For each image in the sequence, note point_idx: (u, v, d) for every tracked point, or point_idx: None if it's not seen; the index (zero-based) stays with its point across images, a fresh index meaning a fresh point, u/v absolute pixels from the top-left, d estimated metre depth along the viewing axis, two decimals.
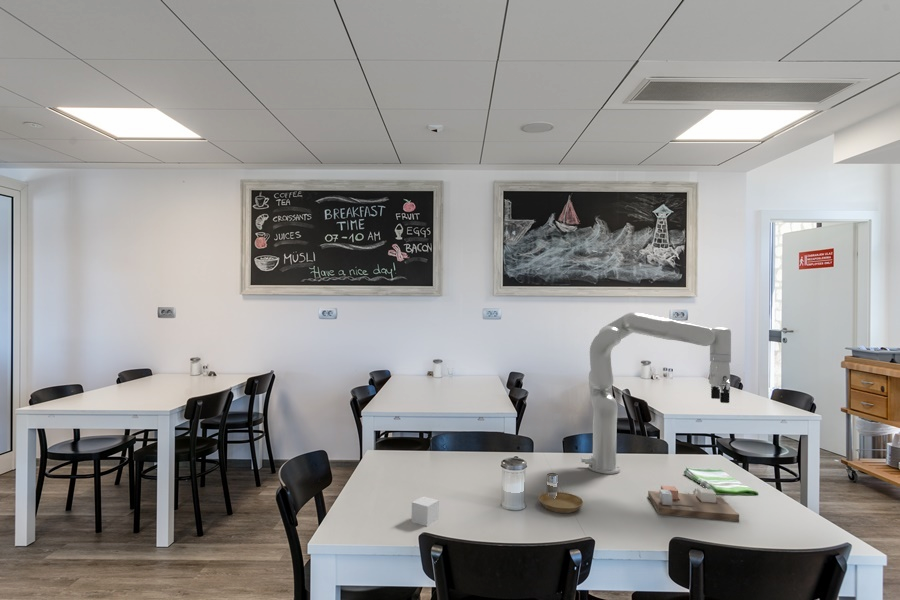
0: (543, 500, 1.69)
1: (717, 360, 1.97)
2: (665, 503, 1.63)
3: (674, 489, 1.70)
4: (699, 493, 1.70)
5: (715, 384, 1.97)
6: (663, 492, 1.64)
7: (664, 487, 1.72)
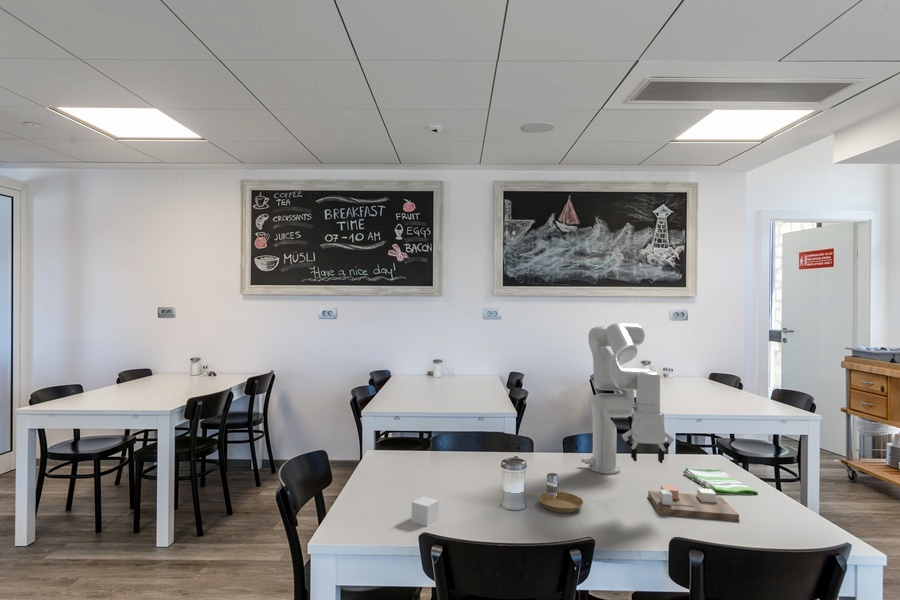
0: (543, 500, 1.69)
1: (659, 412, 1.64)
2: (665, 503, 1.63)
3: (674, 489, 1.70)
4: (699, 493, 1.70)
5: (658, 441, 1.63)
6: (663, 492, 1.64)
7: (664, 487, 1.72)
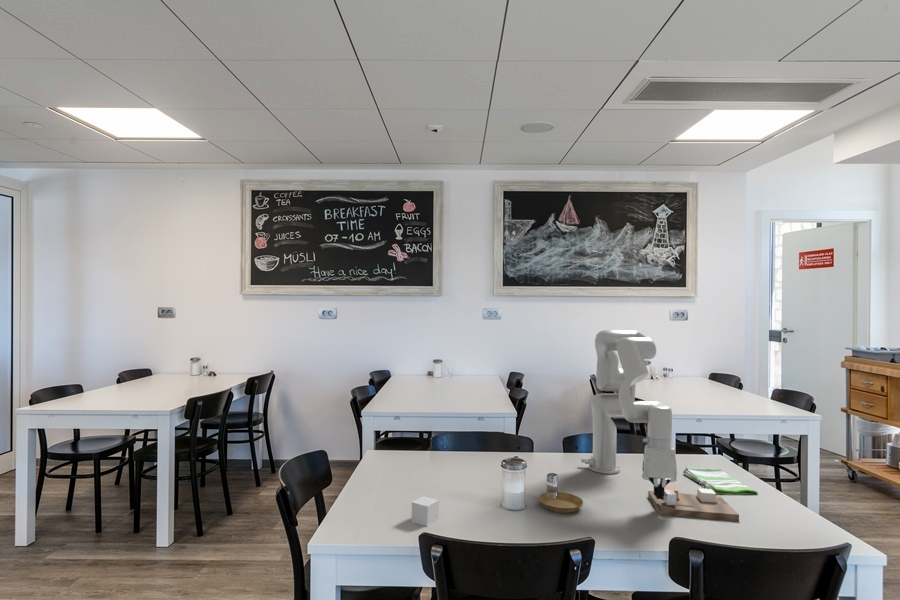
0: (543, 500, 1.69)
1: (670, 447, 1.63)
2: (669, 503, 1.63)
3: (674, 489, 1.70)
4: (699, 493, 1.70)
5: (670, 477, 1.62)
6: (667, 492, 1.64)
7: (664, 487, 1.72)
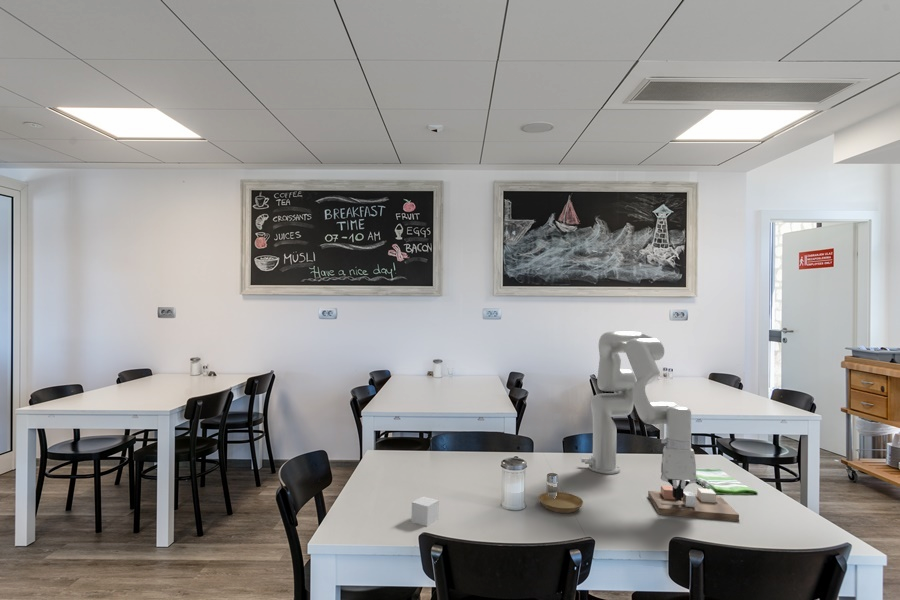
0: (543, 500, 1.69)
1: (690, 448, 1.62)
2: (688, 505, 1.61)
3: None
4: (699, 493, 1.70)
5: (690, 478, 1.61)
6: (686, 493, 1.63)
7: (664, 487, 1.72)
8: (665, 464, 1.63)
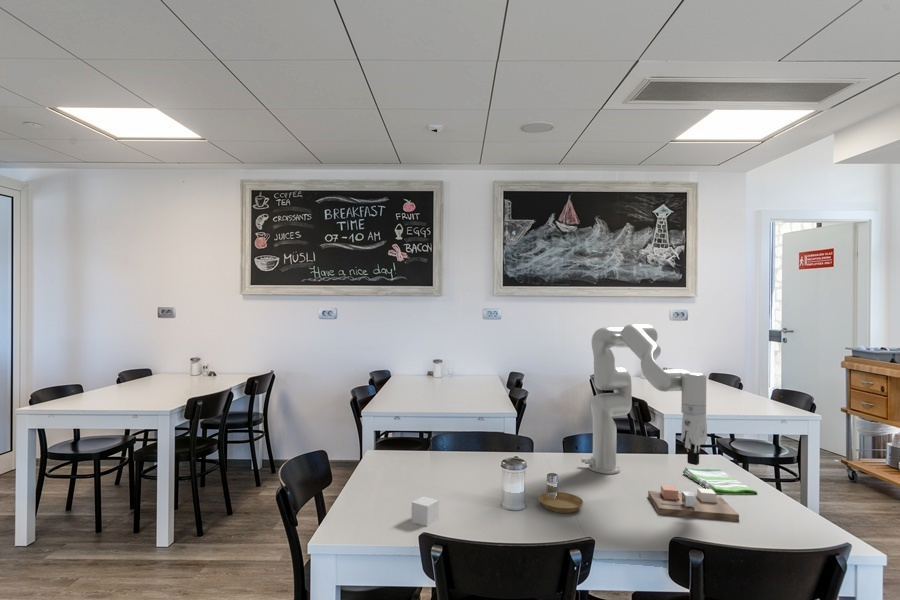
0: (543, 500, 1.69)
1: None
2: (688, 505, 1.62)
3: (674, 489, 1.70)
4: (699, 493, 1.70)
5: (705, 440, 1.67)
6: (686, 493, 1.63)
7: (664, 487, 1.72)
8: (695, 431, 1.62)
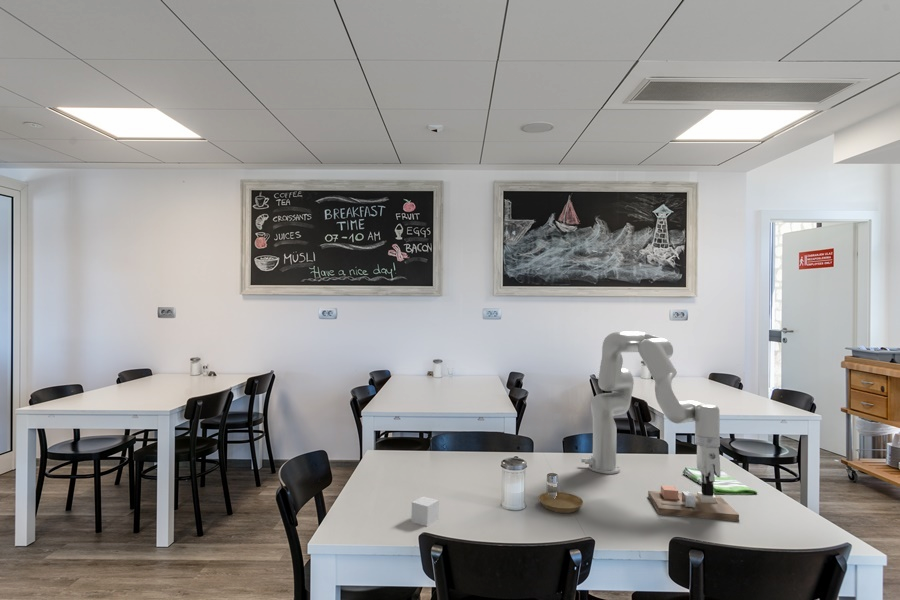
0: (543, 500, 1.69)
1: None
2: (688, 505, 1.62)
3: (674, 489, 1.70)
4: (699, 497, 1.70)
5: None
6: (686, 493, 1.63)
7: (664, 487, 1.72)
8: (719, 463, 1.65)
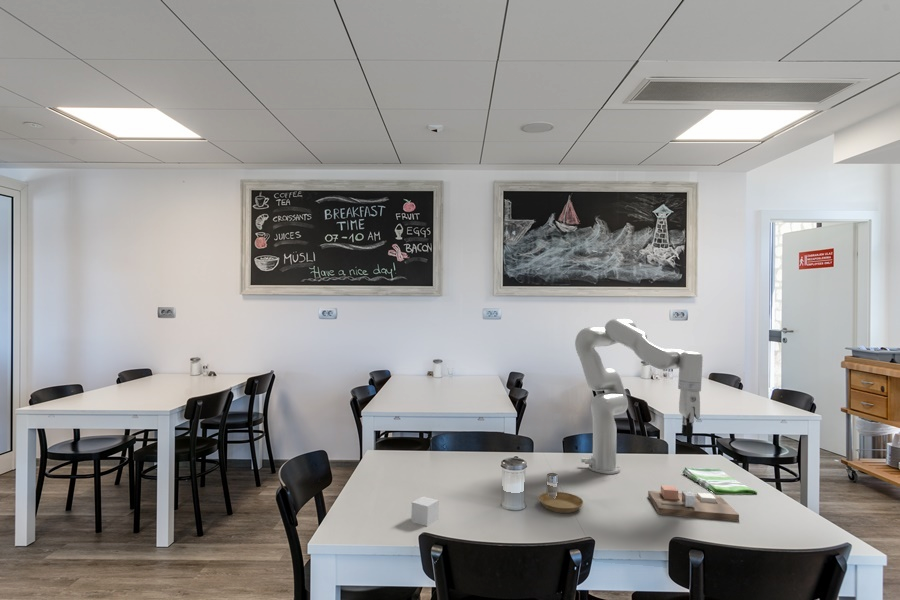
0: (543, 500, 1.69)
1: None
2: (688, 505, 1.62)
3: (674, 489, 1.70)
4: (699, 498, 1.70)
5: None
6: (686, 493, 1.63)
7: (664, 487, 1.72)
8: (699, 406, 1.75)
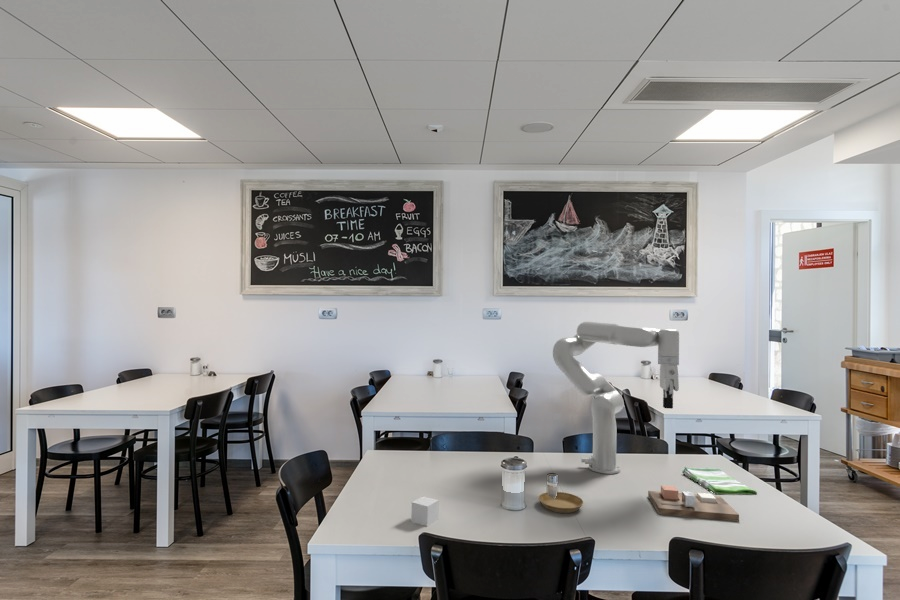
0: (543, 500, 1.69)
1: None
2: (688, 505, 1.62)
3: (674, 489, 1.70)
4: (699, 498, 1.70)
5: None
6: (686, 493, 1.63)
7: (664, 487, 1.72)
8: None
